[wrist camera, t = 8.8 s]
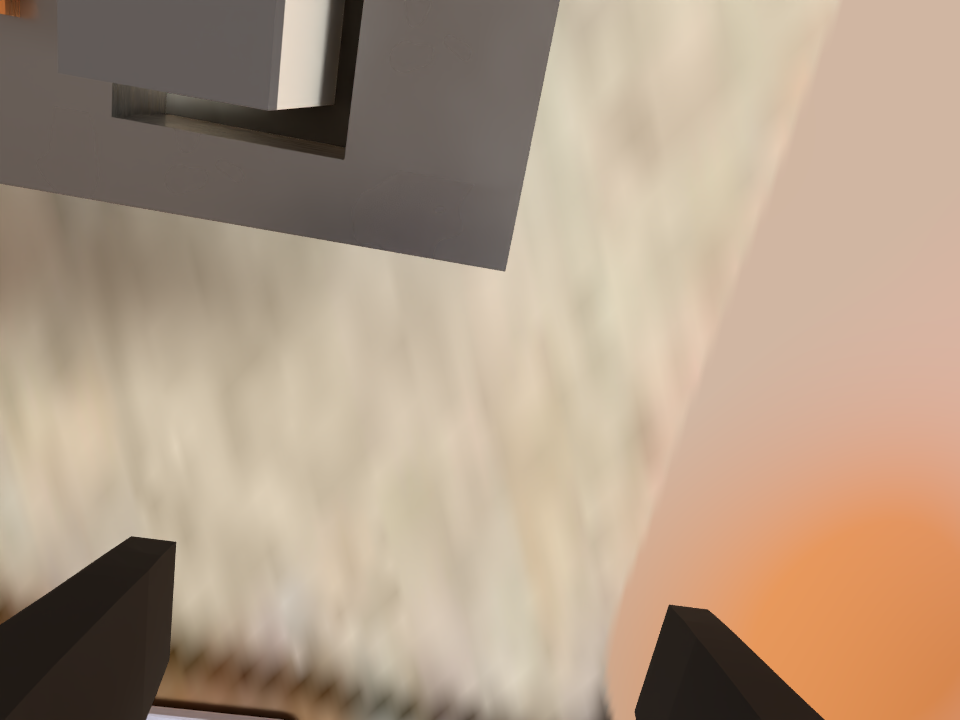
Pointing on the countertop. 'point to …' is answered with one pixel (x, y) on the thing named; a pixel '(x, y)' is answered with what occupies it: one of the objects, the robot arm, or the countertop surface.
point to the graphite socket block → (302, 163)
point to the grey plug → (208, 48)
